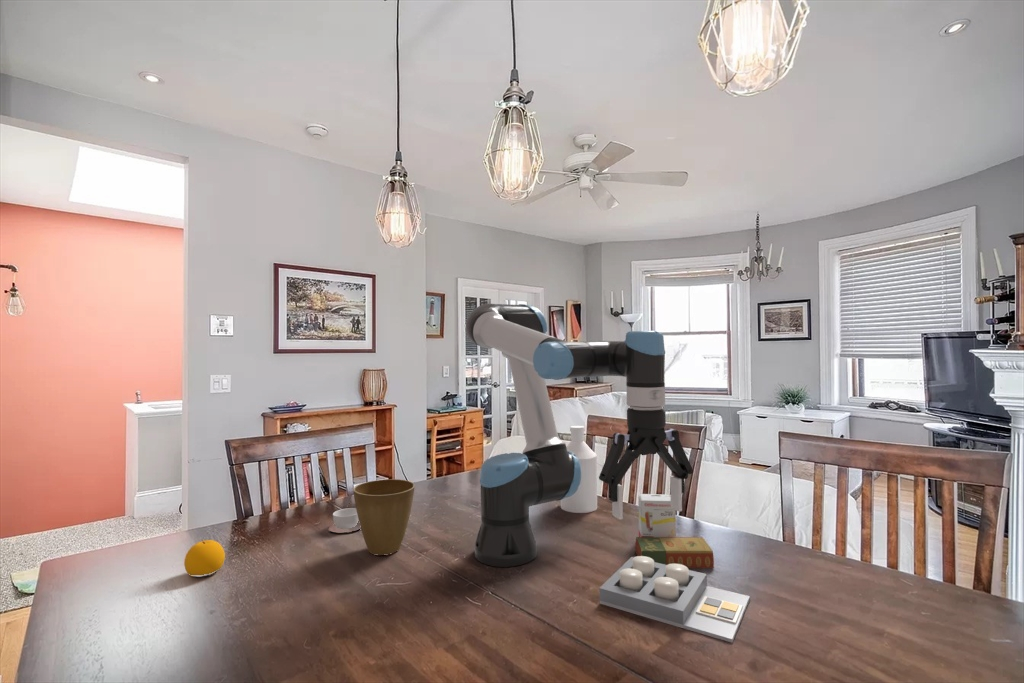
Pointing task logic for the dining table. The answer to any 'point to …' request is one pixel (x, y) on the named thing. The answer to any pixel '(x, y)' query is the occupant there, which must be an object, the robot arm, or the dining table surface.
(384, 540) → the plant pot
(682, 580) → the button
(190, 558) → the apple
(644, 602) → the keypad board
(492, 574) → the dining table surface
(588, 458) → the bottle
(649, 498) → the ink box
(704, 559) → the carton
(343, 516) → the teacup
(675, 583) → the button
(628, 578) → the button
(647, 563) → the button
